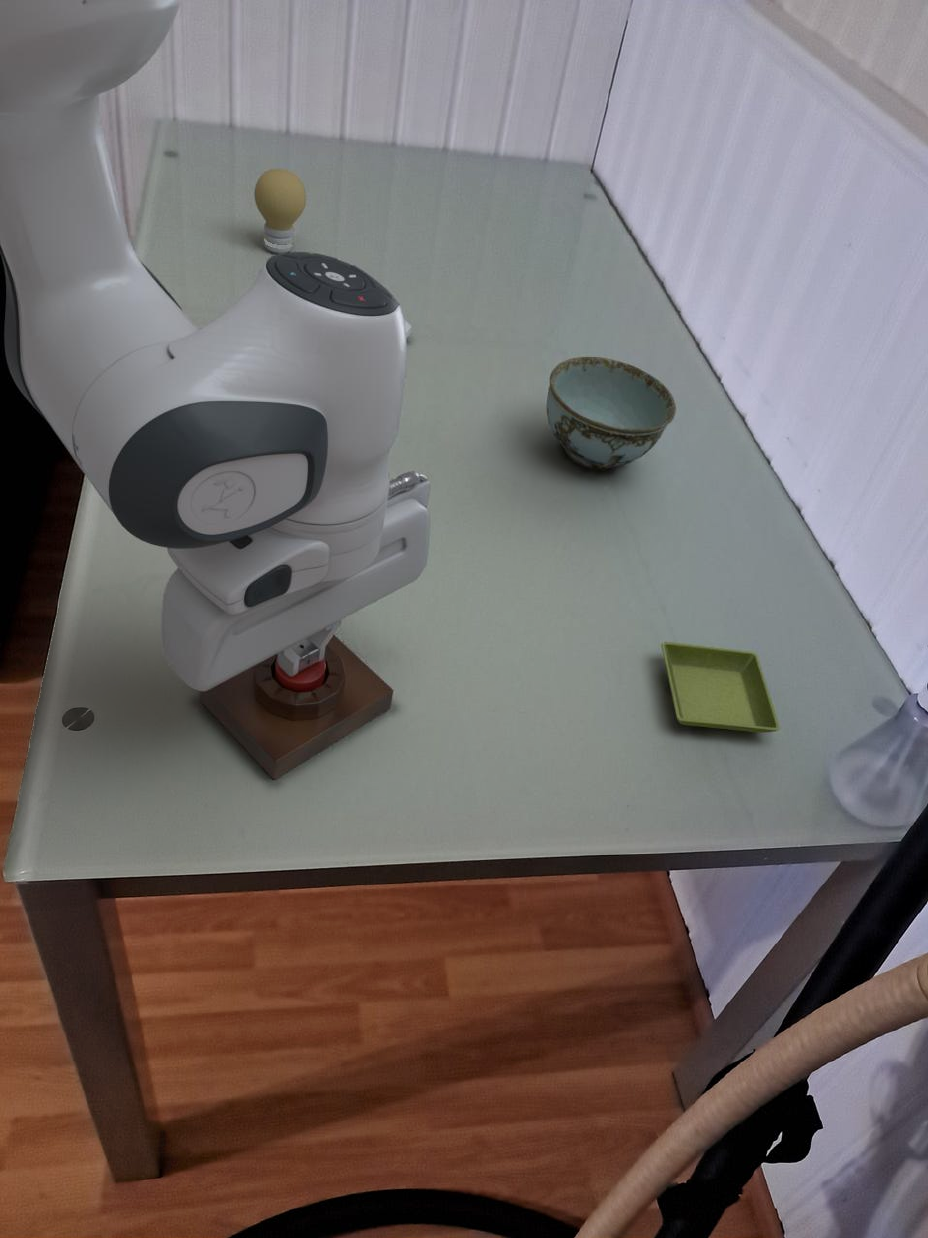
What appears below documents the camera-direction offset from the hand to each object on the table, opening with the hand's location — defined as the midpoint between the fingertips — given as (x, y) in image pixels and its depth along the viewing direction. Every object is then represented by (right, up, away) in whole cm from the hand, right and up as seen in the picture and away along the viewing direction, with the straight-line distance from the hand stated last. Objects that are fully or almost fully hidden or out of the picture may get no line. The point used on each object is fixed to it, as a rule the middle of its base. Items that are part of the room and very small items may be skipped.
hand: (300, 663), depth 70 cm
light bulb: (-12, +51, +56) cm, 77 cm away
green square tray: (+33, -4, +11) cm, 35 cm away
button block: (-1, -3, +3) cm, 5 cm away
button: (0, -1, +1) cm, 2 cm away
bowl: (+26, +21, +35) cm, 48 cm away
